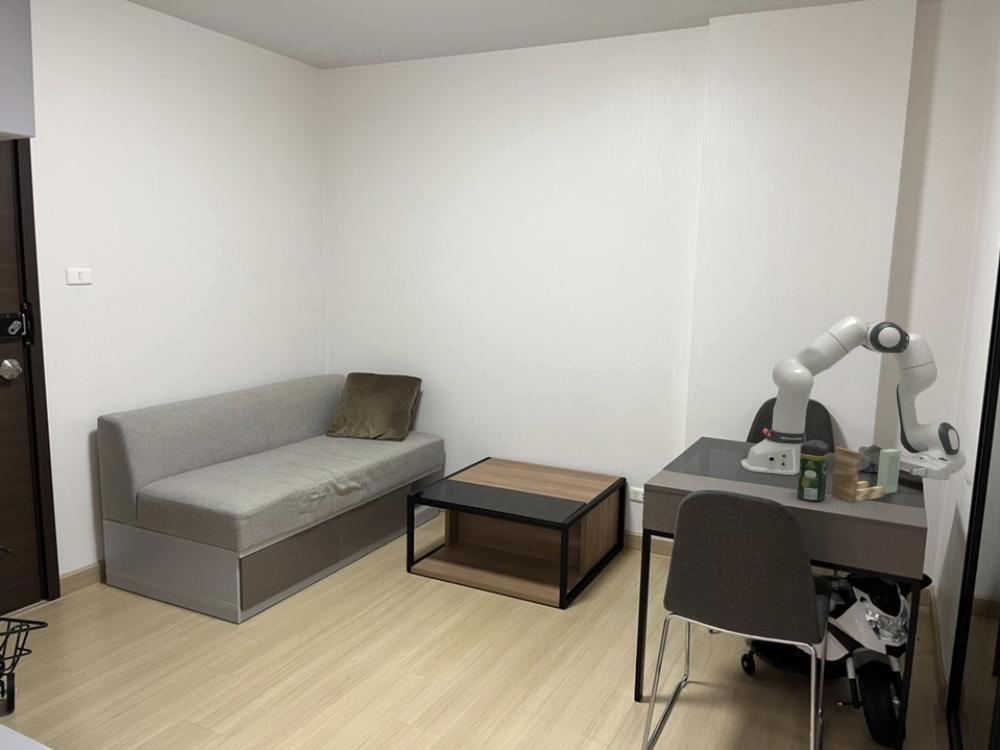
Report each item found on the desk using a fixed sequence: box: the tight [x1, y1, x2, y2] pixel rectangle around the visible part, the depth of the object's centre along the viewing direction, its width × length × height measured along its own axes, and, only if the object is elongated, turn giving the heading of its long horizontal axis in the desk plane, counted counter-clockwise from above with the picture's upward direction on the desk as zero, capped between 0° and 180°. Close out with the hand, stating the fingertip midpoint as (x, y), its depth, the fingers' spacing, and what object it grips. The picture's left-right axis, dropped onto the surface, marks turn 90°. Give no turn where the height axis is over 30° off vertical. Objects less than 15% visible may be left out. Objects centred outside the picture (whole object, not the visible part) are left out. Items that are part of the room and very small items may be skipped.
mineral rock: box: [858, 444, 883, 473], centre depth 275 cm, size 13×11×10 cm
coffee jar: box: [796, 439, 829, 502], centre depth 242 cm, size 10×8×19 cm
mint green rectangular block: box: [876, 448, 902, 495], centre depth 251 cm, size 6×3×14 cm, turn 115°
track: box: [831, 446, 885, 503], centre depth 245 cm, size 15×8×16 cm, turn 115°
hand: (899, 468), depth 253 cm, fingers open, 8 cm apart
